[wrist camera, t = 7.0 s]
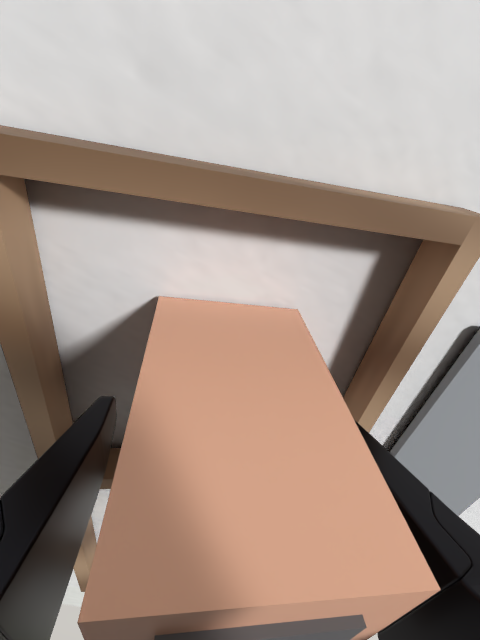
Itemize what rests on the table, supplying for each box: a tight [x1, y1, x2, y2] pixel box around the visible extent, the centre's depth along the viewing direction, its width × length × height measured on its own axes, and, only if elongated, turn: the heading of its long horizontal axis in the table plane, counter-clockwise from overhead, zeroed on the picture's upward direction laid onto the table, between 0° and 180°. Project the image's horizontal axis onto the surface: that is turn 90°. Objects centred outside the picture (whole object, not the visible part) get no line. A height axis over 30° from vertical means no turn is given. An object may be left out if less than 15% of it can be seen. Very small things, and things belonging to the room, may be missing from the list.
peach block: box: [78, 296, 441, 640], centre depth 9 cm, size 5×5×8 cm
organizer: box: [0, 125, 480, 592], centre depth 15 cm, size 26×14×2 cm, turn 170°
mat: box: [390, 329, 480, 516], centre depth 18 cm, size 20×9×1 cm, turn 170°
